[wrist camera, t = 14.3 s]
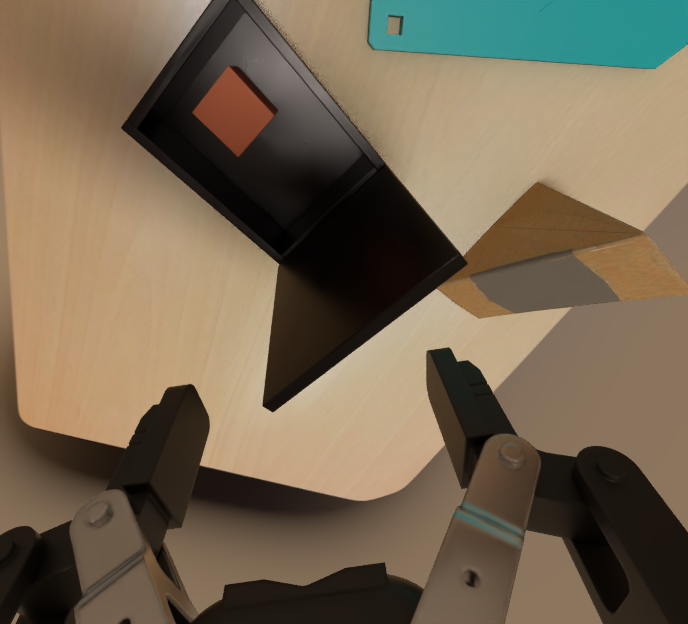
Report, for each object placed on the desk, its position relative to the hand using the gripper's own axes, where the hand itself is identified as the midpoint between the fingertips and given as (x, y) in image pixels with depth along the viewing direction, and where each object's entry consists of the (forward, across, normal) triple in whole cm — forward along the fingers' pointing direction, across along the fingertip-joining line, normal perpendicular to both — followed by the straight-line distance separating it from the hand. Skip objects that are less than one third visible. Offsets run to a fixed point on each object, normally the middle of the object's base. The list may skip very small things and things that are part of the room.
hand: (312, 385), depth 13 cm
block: (+27, +5, -7) cm, 29 cm away
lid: (+13, -1, +2) cm, 13 cm away
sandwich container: (+29, -20, +12) cm, 37 cm away
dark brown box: (+28, +3, -5) cm, 29 cm away
